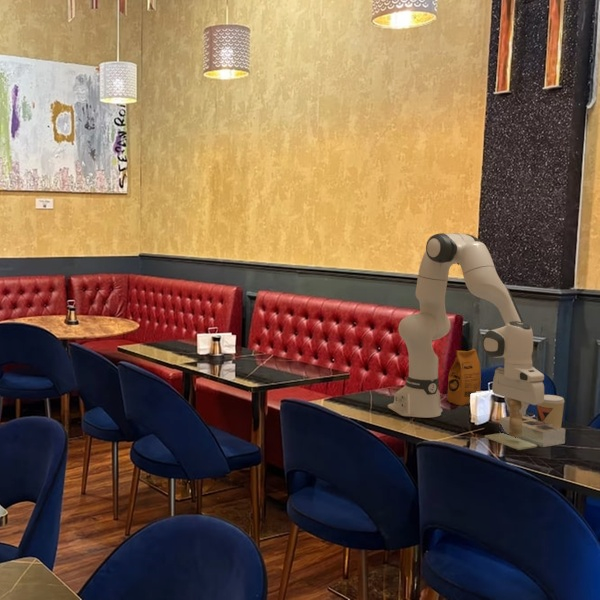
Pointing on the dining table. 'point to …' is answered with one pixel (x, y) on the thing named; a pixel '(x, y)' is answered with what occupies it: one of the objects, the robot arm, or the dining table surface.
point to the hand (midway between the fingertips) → (516, 412)
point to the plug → (515, 419)
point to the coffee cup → (551, 410)
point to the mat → (510, 441)
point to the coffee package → (464, 377)
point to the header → (537, 432)
